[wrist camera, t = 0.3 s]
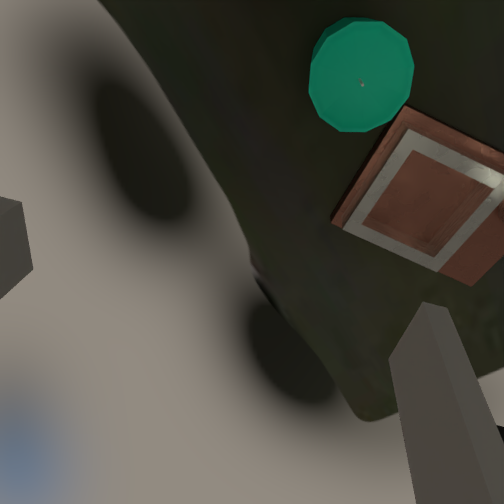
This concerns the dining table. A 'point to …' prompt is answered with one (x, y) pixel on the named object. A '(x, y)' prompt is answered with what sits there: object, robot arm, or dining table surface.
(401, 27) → the dining table surface
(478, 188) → the brown stand with post
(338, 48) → the candle
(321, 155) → the dining table surface
